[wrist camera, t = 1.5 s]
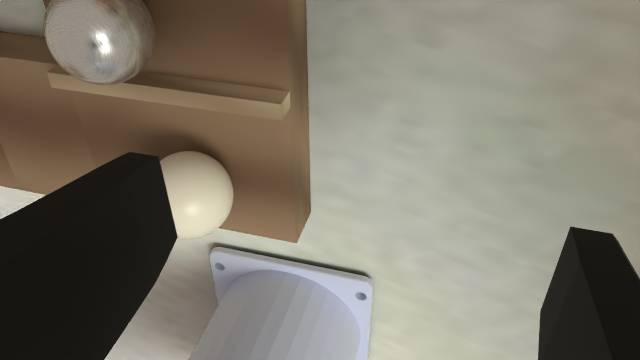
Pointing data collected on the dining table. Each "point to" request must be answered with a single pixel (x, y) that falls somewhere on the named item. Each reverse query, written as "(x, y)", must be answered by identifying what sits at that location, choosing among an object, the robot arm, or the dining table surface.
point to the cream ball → (197, 193)
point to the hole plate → (175, 108)
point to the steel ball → (100, 38)
